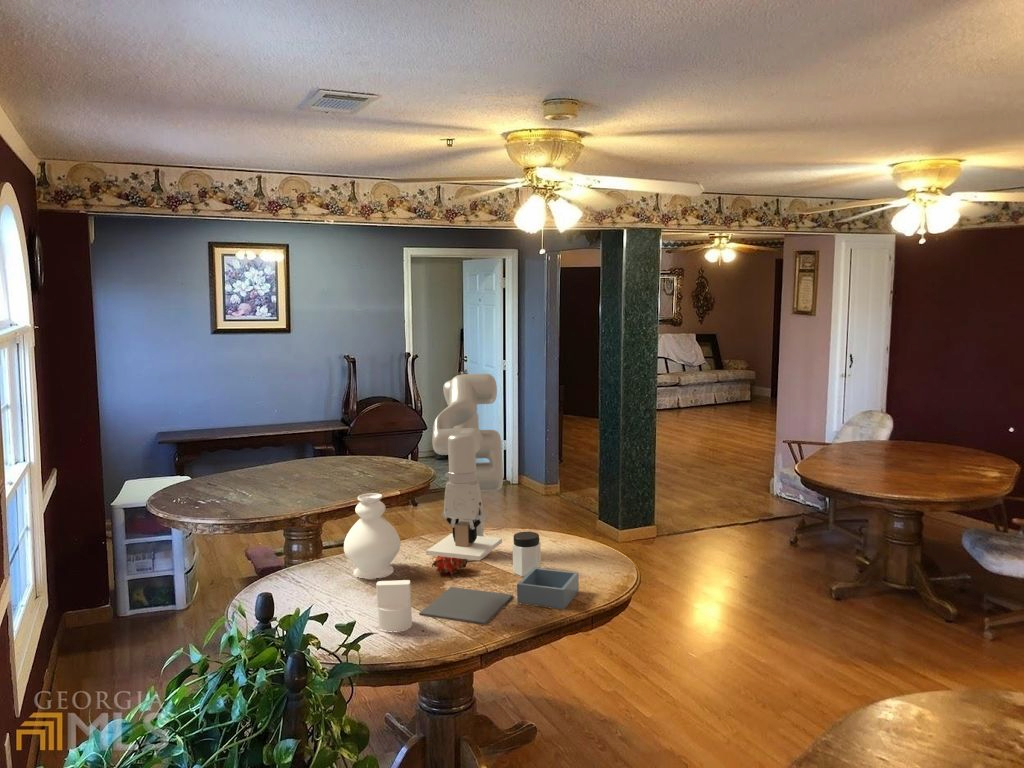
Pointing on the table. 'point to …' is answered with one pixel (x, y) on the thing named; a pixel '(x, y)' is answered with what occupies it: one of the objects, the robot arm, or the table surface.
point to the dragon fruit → (449, 564)
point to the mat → (467, 605)
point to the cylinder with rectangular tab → (394, 605)
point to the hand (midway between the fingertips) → (464, 540)
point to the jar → (526, 552)
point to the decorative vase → (371, 539)
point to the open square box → (548, 588)
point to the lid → (464, 545)
